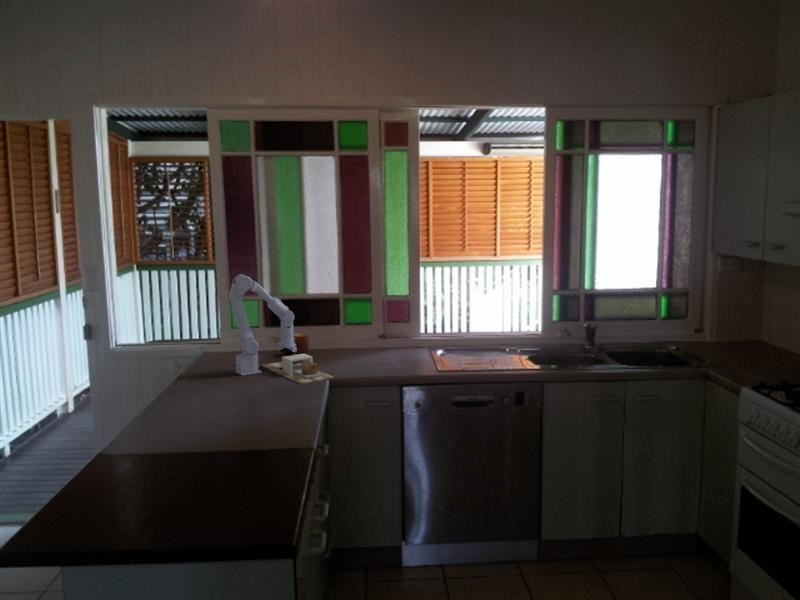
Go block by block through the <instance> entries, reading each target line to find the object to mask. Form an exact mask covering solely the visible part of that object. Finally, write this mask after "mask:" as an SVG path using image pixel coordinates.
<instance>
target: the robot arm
mask: <svg viewBox="0 0 800 600" xmlns="http://www.w3.org/2000/svg"><path fill="white" fill-rule="evenodd" d="M248 291H251V292H255V293H256V294H257V295H258V296H259V297H260V298H262V299H263V300H264V301H265V302H266V304H267V308H268V309H270V311H272V313H274V315H276V316H277V317H278V318H279V320H280V342H278V347H279V348H282V349H280V350H279V351H280V353H281V354H282V357H284V356H291V355H295V351H297V347H295V346H296V344H295V342H294V320H295V317H296V316H295V314H294V312H293V311H292V310H290V309H289V307H288V306H287V305H285V304H284V303H283V302H282V299H280V298H277V297H272V296H271V295H270V294H269V293H268V292H267V291H266V290H265V288H263V286H261V285H260V284H259V283H258V282H257V281H255V280H253V279H252V278H251V277H250V276H248V275H245V274H241V273H240V274H237V275H236V276H235V277H234V279H232V282H231V287H230V291H229V294H228V297H229V302H230V304H231V307H232V311H233V314H234V318H235V321H236V325H237V327H238V330H239V337H240V347H241V349H242V351H241V353H240V354H236V357H235V373H237V374H238V375H241V376H249V375H254V374H261V373H263V371H262V370H261V369H259V351H258V350H259V348H260V347H259V343H258V342H257V341H256V339H255V336H254V335H253V332H252V329H251V326H250V323H249V319H248V316H247V313H246V310H245V309H246V308H245V307H244V304H243V300H242V299H243V297H244V295H245V294H246V292H248Z"/></svg>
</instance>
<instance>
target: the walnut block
mask: <svg viewBox="0 0 800 600" xmlns="http://www.w3.org/2000/svg"><path fill="white" fill-rule="evenodd" d="M301 364H302V363H301ZM318 371H319V370H318V364H317V363H315V362H313V363H305V364H302V373H303V374H305V375H313V374H318Z"/></svg>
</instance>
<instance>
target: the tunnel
mask: <svg viewBox="0 0 800 600" xmlns="http://www.w3.org/2000/svg"><path fill="white" fill-rule="evenodd" d="M281 359H282V361H281V362H282V367H283V369H282V371H283V372H285V373H287V374H290V375H293V365H292V362H293V361H297V362H298V361H302V362H301V364H305V363H314V359H313V356H312V355H309V354H308V355H307V354H298V355H296V354H293V355H291V356H284V357H283V356H281Z"/></svg>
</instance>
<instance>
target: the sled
mask: <svg viewBox="0 0 800 600" xmlns="http://www.w3.org/2000/svg"><path fill="white" fill-rule="evenodd" d="M298 363H299V362H298V361H293V362H292V365H293V373H295V374H297V375H300V376H302V377H304V378H306V379H307V378H312V377H318V376H321V374H320V373H318V374H313V375H305V374H303V373H302V366H301V365H298Z"/></svg>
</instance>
